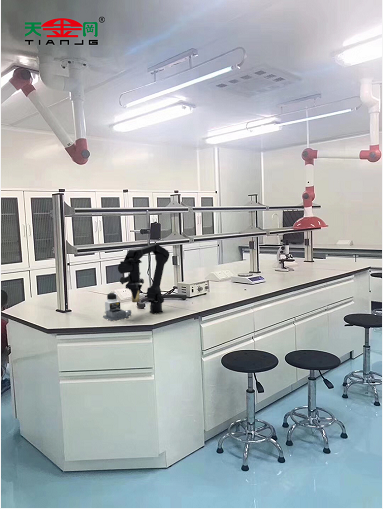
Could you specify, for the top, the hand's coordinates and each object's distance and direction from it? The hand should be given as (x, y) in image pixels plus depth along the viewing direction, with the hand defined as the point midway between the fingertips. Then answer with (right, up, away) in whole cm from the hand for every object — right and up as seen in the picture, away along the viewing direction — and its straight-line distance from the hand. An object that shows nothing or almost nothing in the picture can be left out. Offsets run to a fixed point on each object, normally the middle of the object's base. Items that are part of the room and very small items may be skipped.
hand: (135, 298), depth 234 cm
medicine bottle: (-17, -11, +18) cm, 27 cm away
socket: (-11, -12, +6) cm, 17 cm away
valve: (0, -2, 0) cm, 2 cm away
